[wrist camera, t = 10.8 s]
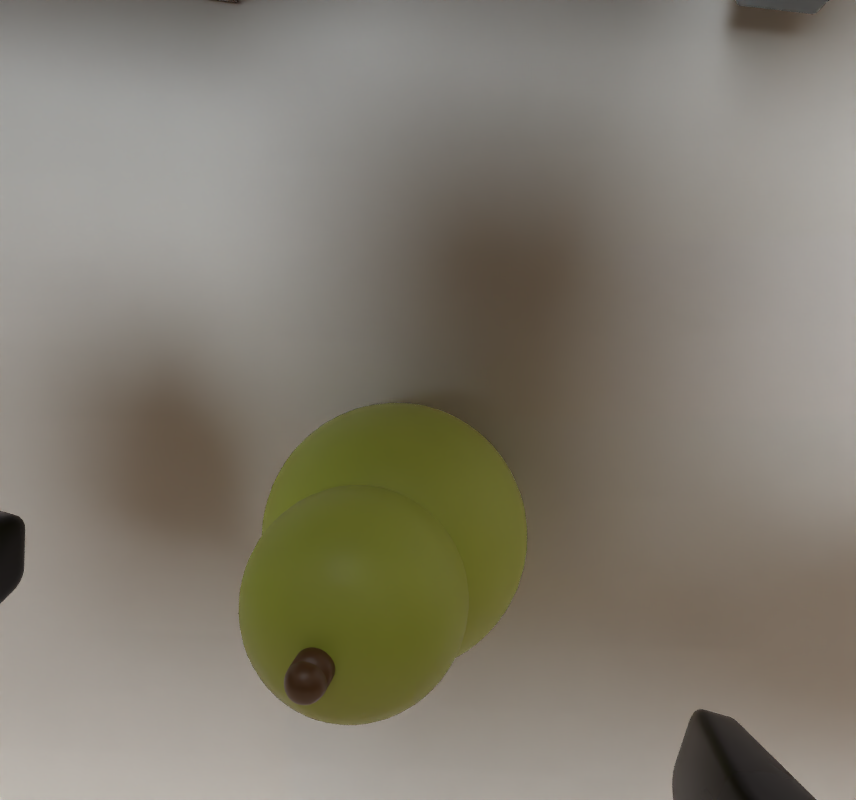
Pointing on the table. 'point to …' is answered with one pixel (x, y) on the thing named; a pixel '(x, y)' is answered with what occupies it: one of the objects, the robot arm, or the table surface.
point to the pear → (380, 561)
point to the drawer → (786, 5)
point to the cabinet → (230, 0)
